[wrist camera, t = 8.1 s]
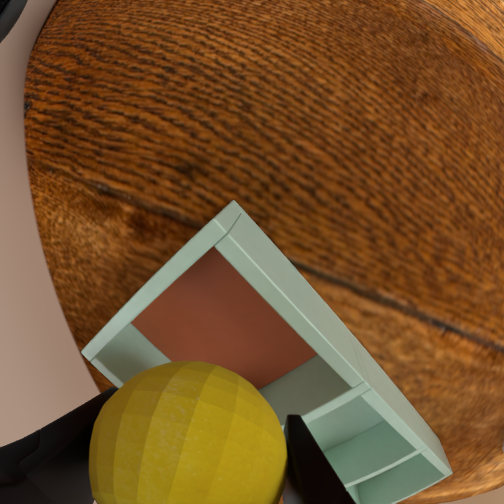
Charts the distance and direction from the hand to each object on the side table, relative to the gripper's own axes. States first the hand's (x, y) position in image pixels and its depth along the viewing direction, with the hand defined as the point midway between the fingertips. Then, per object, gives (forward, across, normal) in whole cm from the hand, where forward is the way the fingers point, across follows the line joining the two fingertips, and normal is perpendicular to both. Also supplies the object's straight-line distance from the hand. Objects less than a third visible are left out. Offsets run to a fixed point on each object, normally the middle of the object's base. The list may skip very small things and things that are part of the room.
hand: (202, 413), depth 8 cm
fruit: (+2, 0, 0) cm, 2 cm away
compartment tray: (+6, -6, +6) cm, 10 cm away
